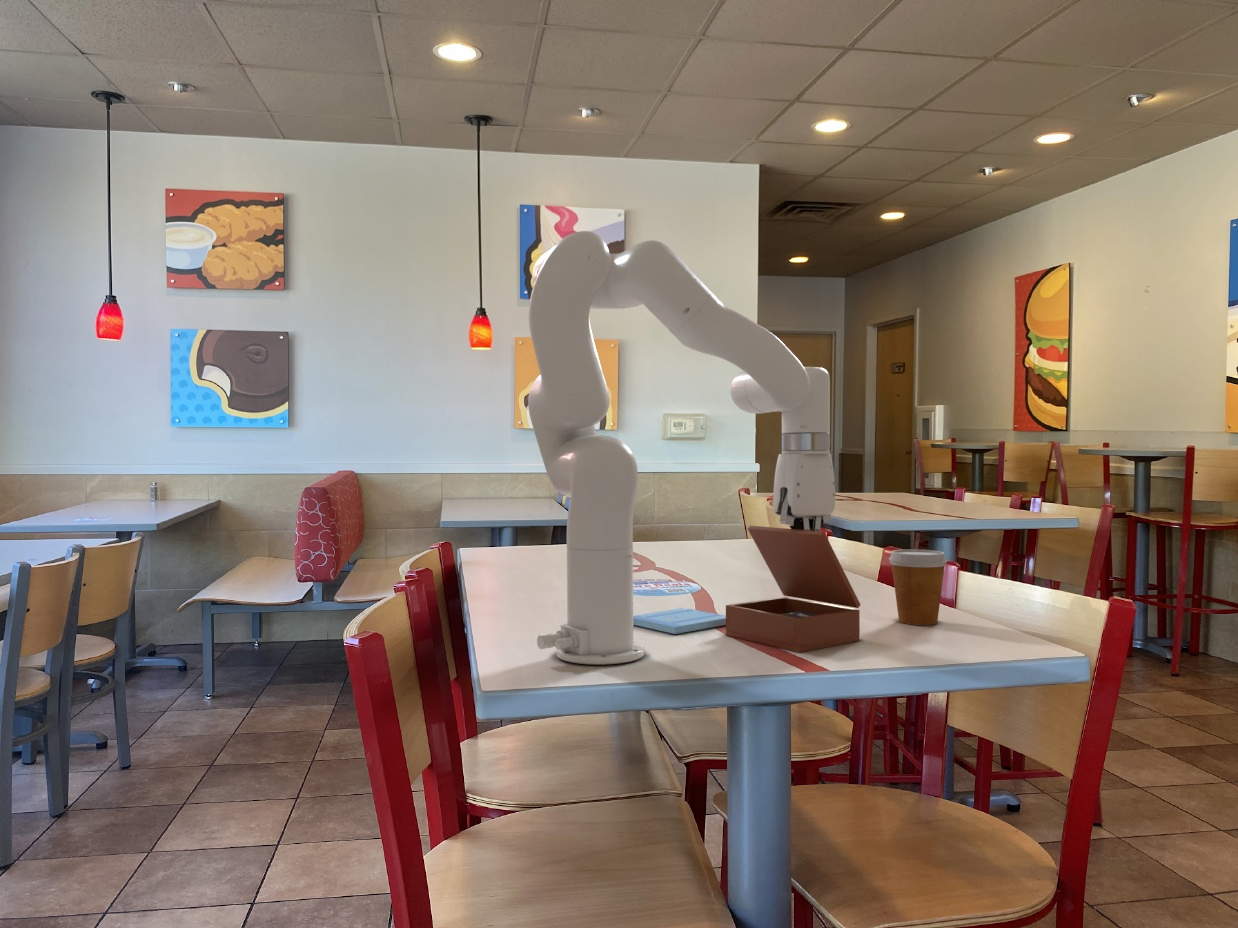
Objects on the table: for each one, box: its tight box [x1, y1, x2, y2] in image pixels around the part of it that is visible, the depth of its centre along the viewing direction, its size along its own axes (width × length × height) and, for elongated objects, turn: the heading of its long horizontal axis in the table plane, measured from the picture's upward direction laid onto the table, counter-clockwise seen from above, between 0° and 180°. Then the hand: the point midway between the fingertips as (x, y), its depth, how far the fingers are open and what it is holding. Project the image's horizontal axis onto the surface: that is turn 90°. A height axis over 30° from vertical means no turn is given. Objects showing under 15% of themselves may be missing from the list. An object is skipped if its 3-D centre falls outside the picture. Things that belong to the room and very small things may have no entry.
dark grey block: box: [780, 611, 816, 618], centre depth 136 cm, size 8×5×3 cm, turn 126°
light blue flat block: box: [633, 607, 726, 635], centre depth 147 cm, size 14×12×1 cm
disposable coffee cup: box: [888, 549, 948, 626], centre depth 148 cm, size 10×10×12 cm
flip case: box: [725, 596, 861, 653], centre depth 136 cm, size 14×16×5 cm
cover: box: [747, 525, 861, 609], centre depth 137 cm, size 14×16×1 cm
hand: (806, 559), depth 138 cm, fingers closed
